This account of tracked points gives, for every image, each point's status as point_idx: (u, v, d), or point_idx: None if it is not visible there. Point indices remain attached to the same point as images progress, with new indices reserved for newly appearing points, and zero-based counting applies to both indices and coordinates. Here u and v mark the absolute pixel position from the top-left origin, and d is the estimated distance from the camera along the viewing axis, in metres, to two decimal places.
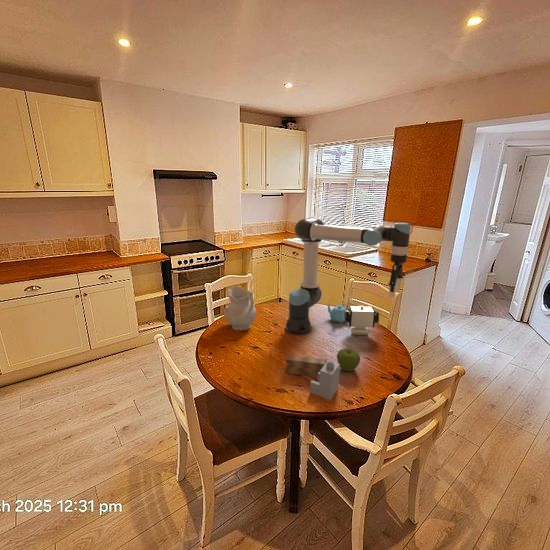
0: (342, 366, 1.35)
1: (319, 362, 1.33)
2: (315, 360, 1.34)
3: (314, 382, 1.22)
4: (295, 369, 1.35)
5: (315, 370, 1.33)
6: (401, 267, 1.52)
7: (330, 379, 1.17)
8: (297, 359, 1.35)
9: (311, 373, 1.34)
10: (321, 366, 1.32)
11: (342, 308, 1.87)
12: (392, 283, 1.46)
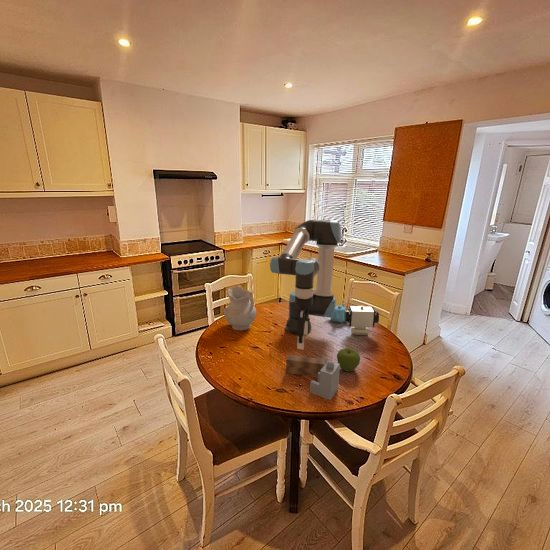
0: (342, 366, 1.35)
1: (319, 362, 1.33)
2: (315, 360, 1.34)
3: (314, 382, 1.22)
4: (295, 369, 1.35)
5: (315, 370, 1.33)
6: (307, 310, 1.29)
7: (330, 379, 1.17)
8: (297, 359, 1.35)
9: (311, 373, 1.34)
10: (321, 366, 1.32)
11: (342, 308, 1.87)
12: (300, 334, 1.21)
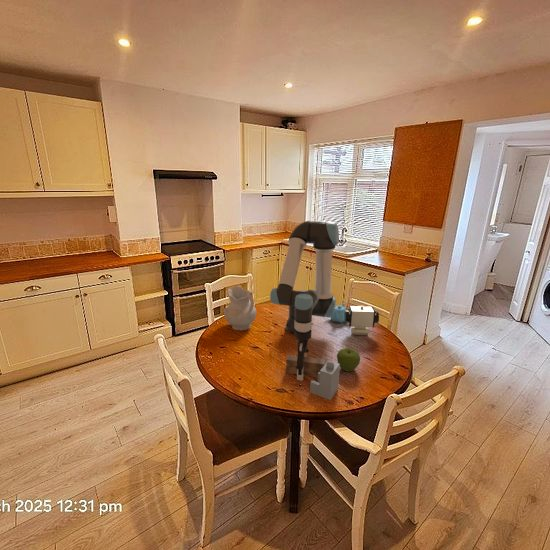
0: (342, 366, 1.35)
1: (319, 362, 1.33)
2: (315, 360, 1.34)
3: (314, 382, 1.22)
4: (295, 369, 1.35)
5: (315, 370, 1.33)
6: (306, 342, 1.33)
7: (330, 379, 1.17)
8: None
9: (311, 373, 1.34)
10: (321, 366, 1.32)
11: (342, 308, 1.87)
12: (300, 367, 1.26)
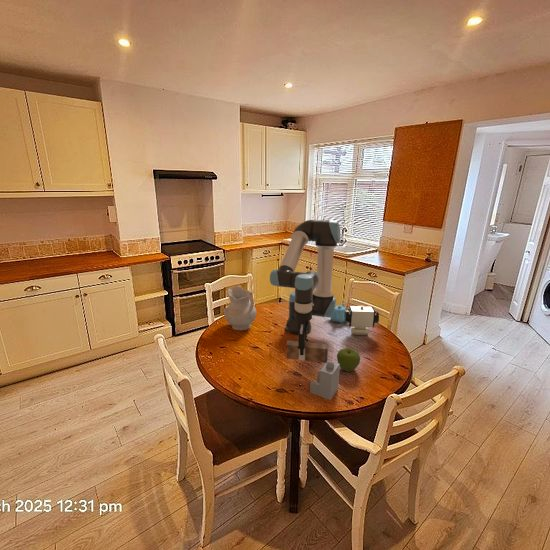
0: (342, 366, 1.35)
1: (320, 347, 1.31)
2: (315, 345, 1.32)
3: (314, 382, 1.22)
4: (295, 355, 1.34)
5: (315, 355, 1.32)
6: (307, 323, 1.31)
7: (330, 379, 1.17)
8: (297, 344, 1.33)
9: (312, 358, 1.32)
10: (322, 351, 1.30)
11: (342, 308, 1.87)
12: (301, 347, 1.28)
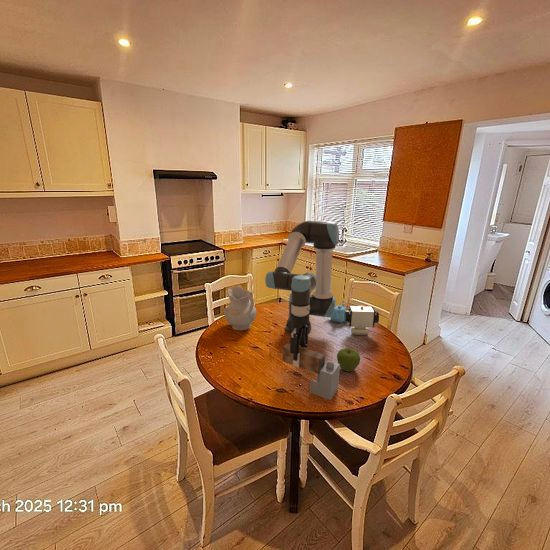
0: (342, 366, 1.35)
1: (314, 356, 1.22)
2: (311, 353, 1.24)
3: (314, 382, 1.22)
4: (291, 359, 1.28)
5: (309, 363, 1.23)
6: (304, 328, 1.24)
7: (330, 379, 1.17)
8: None
9: (306, 366, 1.24)
10: (316, 360, 1.21)
11: (342, 308, 1.87)
12: (293, 351, 1.22)
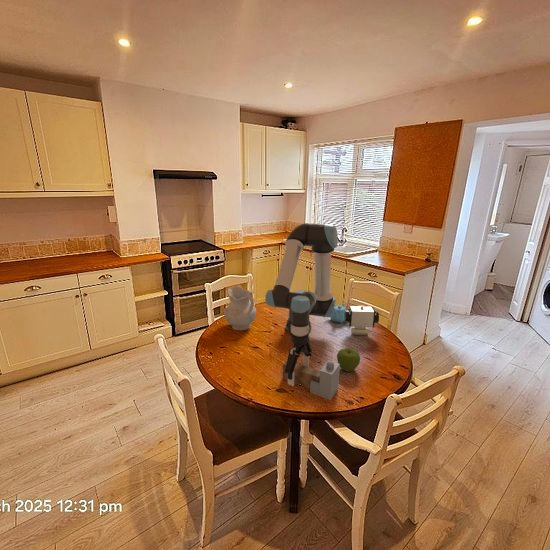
0: (342, 366, 1.35)
1: (314, 374, 1.24)
2: (311, 371, 1.26)
3: (314, 382, 1.22)
4: None
5: (309, 381, 1.25)
6: (304, 347, 1.26)
7: (330, 379, 1.17)
8: None
9: (305, 384, 1.27)
10: (315, 378, 1.23)
11: (342, 308, 1.87)
12: (288, 371, 1.20)
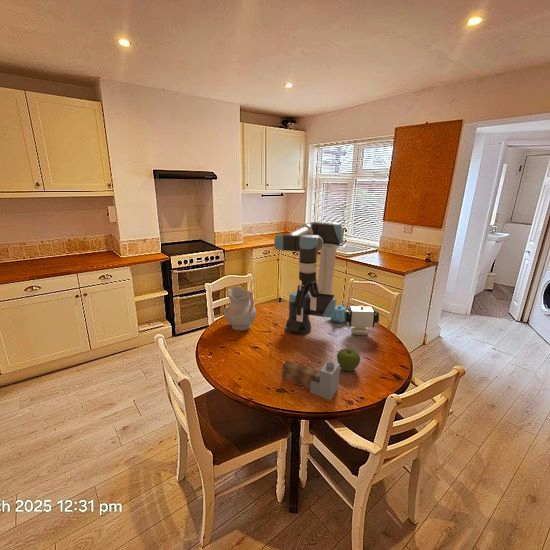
0: (342, 366, 1.35)
1: (314, 374, 1.24)
2: (311, 371, 1.26)
3: (314, 382, 1.22)
4: (290, 376, 1.30)
5: (309, 381, 1.25)
6: (311, 286, 1.32)
7: (330, 379, 1.17)
8: (293, 366, 1.30)
9: (305, 384, 1.27)
10: (315, 378, 1.23)
11: (342, 308, 1.87)
12: (297, 306, 1.26)
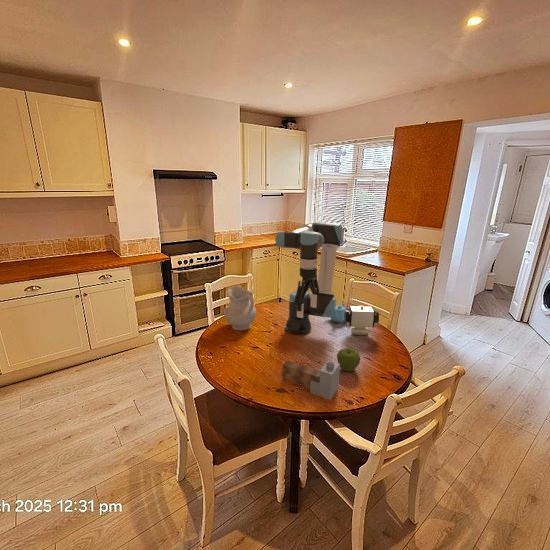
0: (342, 366, 1.35)
1: (314, 374, 1.24)
2: (311, 371, 1.26)
3: (314, 382, 1.22)
4: (290, 376, 1.30)
5: (309, 381, 1.25)
6: (312, 282, 1.33)
7: (330, 379, 1.17)
8: (293, 366, 1.30)
9: (305, 384, 1.27)
10: (315, 378, 1.23)
11: (342, 308, 1.87)
12: (297, 301, 1.26)
